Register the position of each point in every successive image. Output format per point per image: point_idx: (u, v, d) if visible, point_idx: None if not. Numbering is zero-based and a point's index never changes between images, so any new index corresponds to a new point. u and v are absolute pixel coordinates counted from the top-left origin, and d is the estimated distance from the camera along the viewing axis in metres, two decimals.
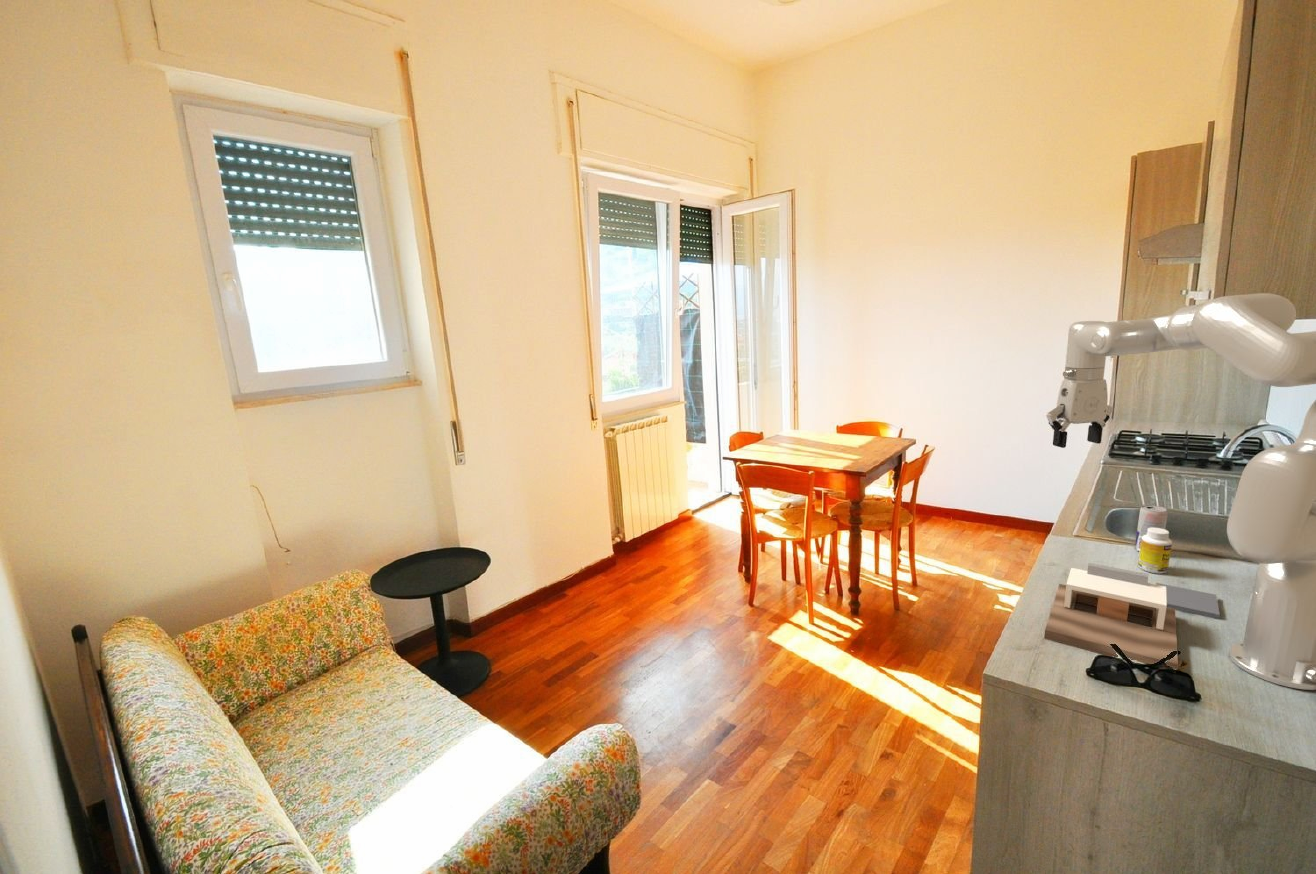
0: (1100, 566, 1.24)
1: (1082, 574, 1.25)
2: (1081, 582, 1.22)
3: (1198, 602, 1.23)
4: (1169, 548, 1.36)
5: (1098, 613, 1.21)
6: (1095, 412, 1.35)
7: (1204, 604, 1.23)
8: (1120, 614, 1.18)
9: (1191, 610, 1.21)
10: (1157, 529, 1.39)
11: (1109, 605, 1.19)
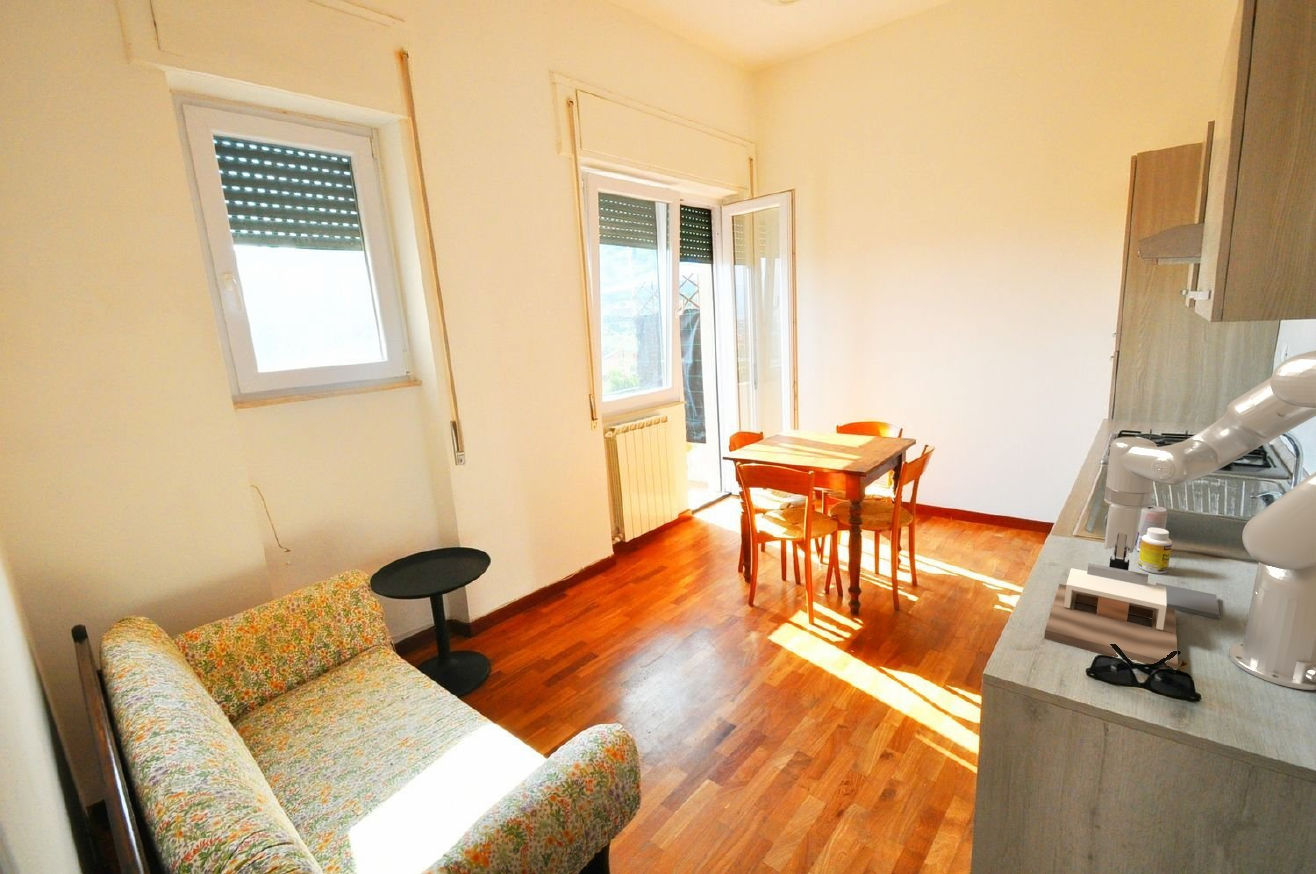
0: (1100, 566, 1.24)
1: (1082, 574, 1.25)
2: (1081, 582, 1.22)
3: (1198, 602, 1.23)
4: (1169, 548, 1.36)
5: (1098, 613, 1.21)
6: None
7: (1204, 604, 1.23)
8: (1120, 614, 1.18)
9: (1191, 610, 1.21)
10: (1157, 529, 1.39)
11: (1109, 605, 1.19)
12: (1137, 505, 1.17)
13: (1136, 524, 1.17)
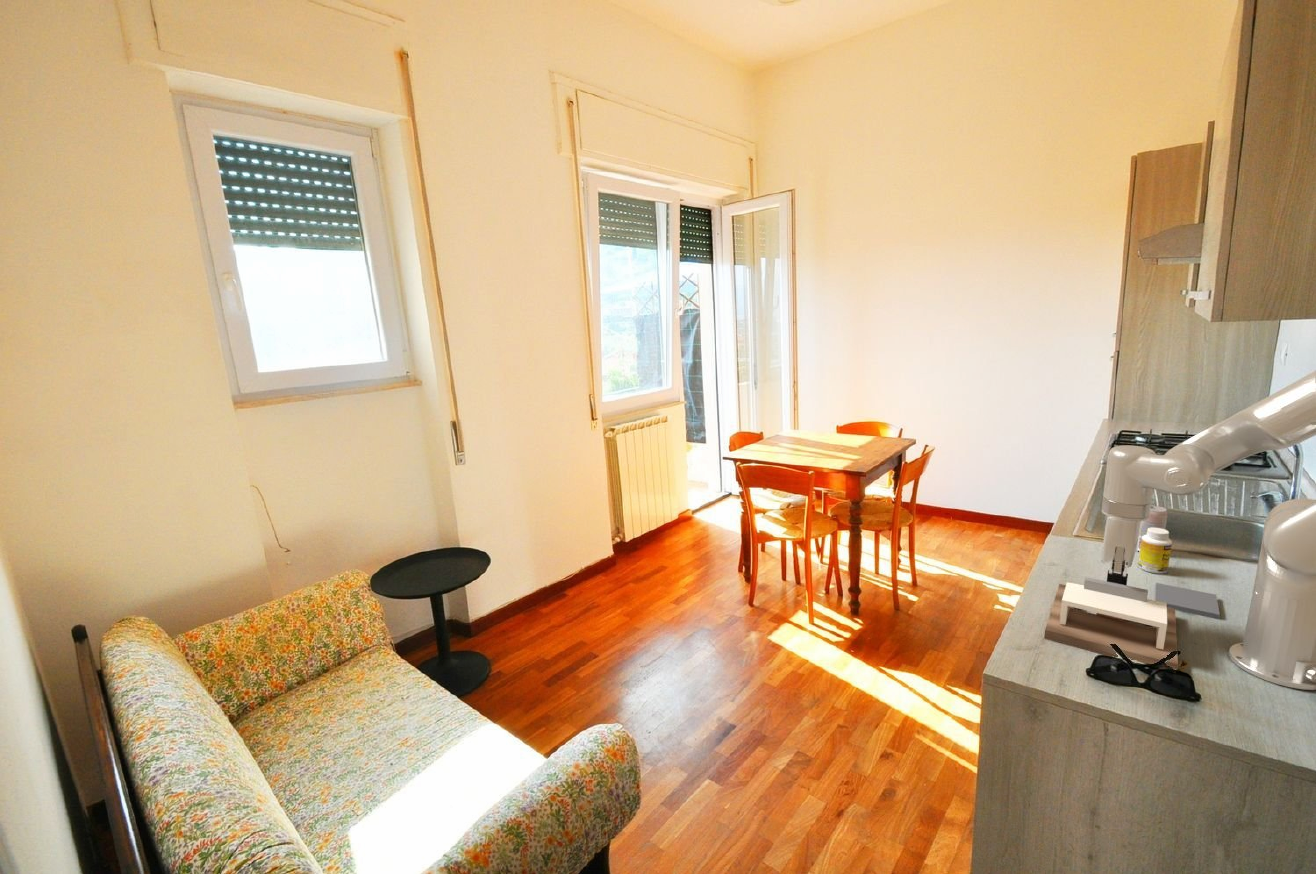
0: (1097, 581, 1.18)
1: (1078, 589, 1.19)
2: (1077, 598, 1.16)
3: (1198, 602, 1.23)
4: (1169, 548, 1.36)
5: (1098, 613, 1.21)
6: None
7: (1204, 604, 1.23)
8: None
9: (1191, 610, 1.21)
10: (1157, 529, 1.39)
11: None
12: (1136, 517, 1.11)
13: (1135, 537, 1.12)
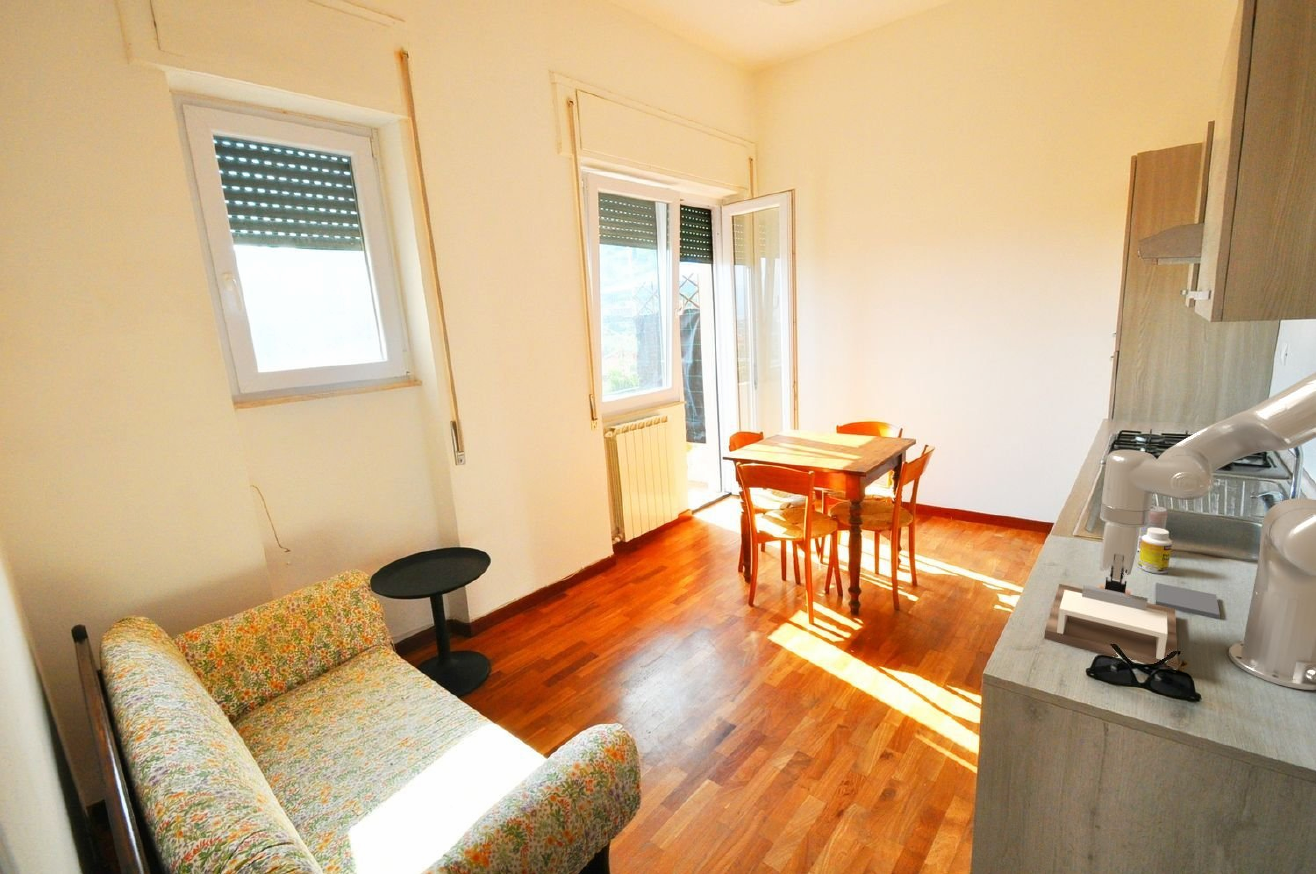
0: (1096, 589, 1.15)
1: (1076, 597, 1.16)
2: (1075, 606, 1.13)
3: (1198, 602, 1.23)
4: (1169, 548, 1.36)
5: None
6: None
7: (1204, 604, 1.23)
8: None
9: (1191, 610, 1.21)
10: (1157, 529, 1.39)
11: None
12: (1135, 524, 1.09)
13: (1134, 544, 1.09)
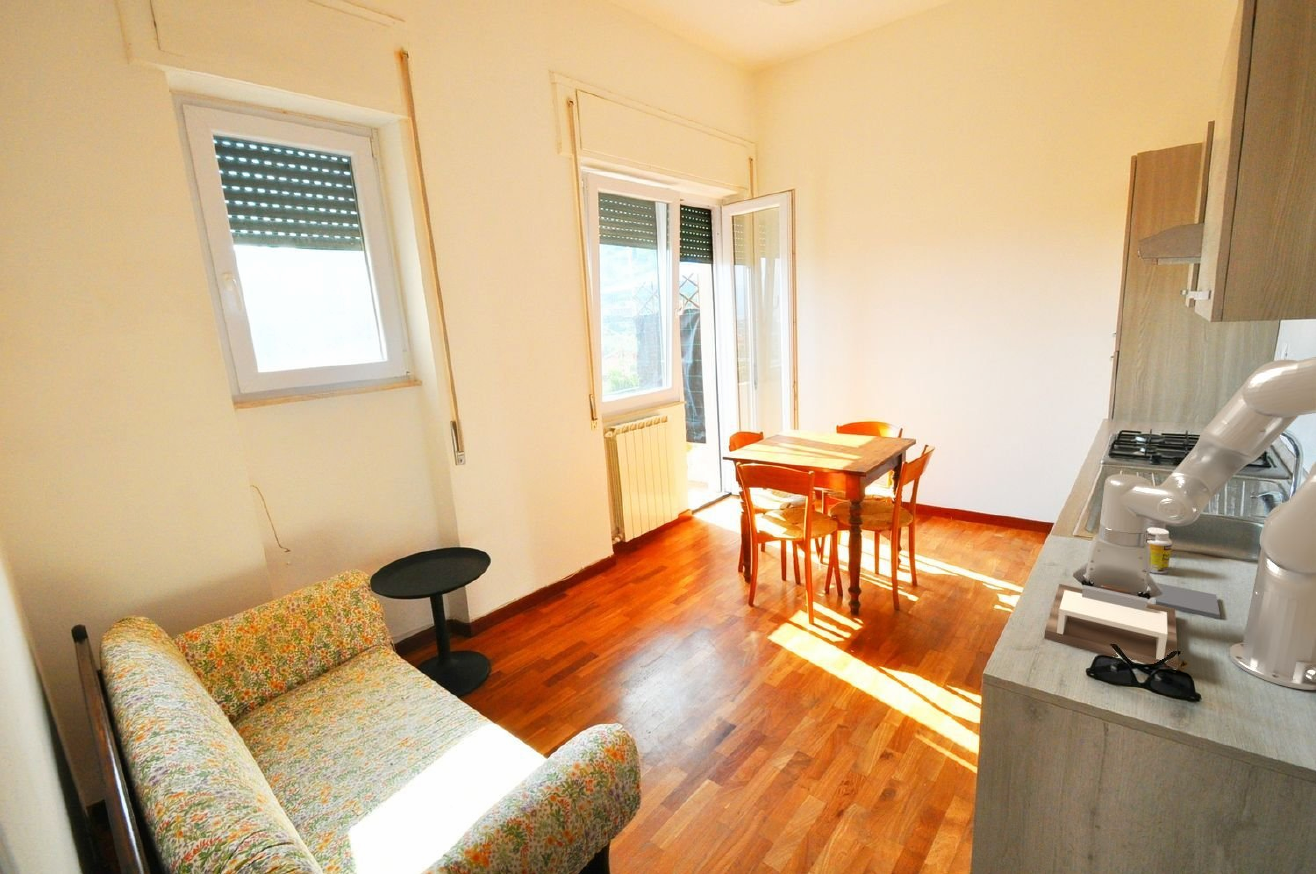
0: (1096, 589, 1.15)
1: (1076, 597, 1.16)
2: (1075, 606, 1.13)
3: (1198, 602, 1.23)
4: (1169, 548, 1.36)
5: None
6: None
7: (1204, 604, 1.23)
8: None
9: (1191, 610, 1.21)
10: (1157, 529, 1.39)
11: None
12: (1100, 537, 1.18)
13: (1093, 553, 1.20)
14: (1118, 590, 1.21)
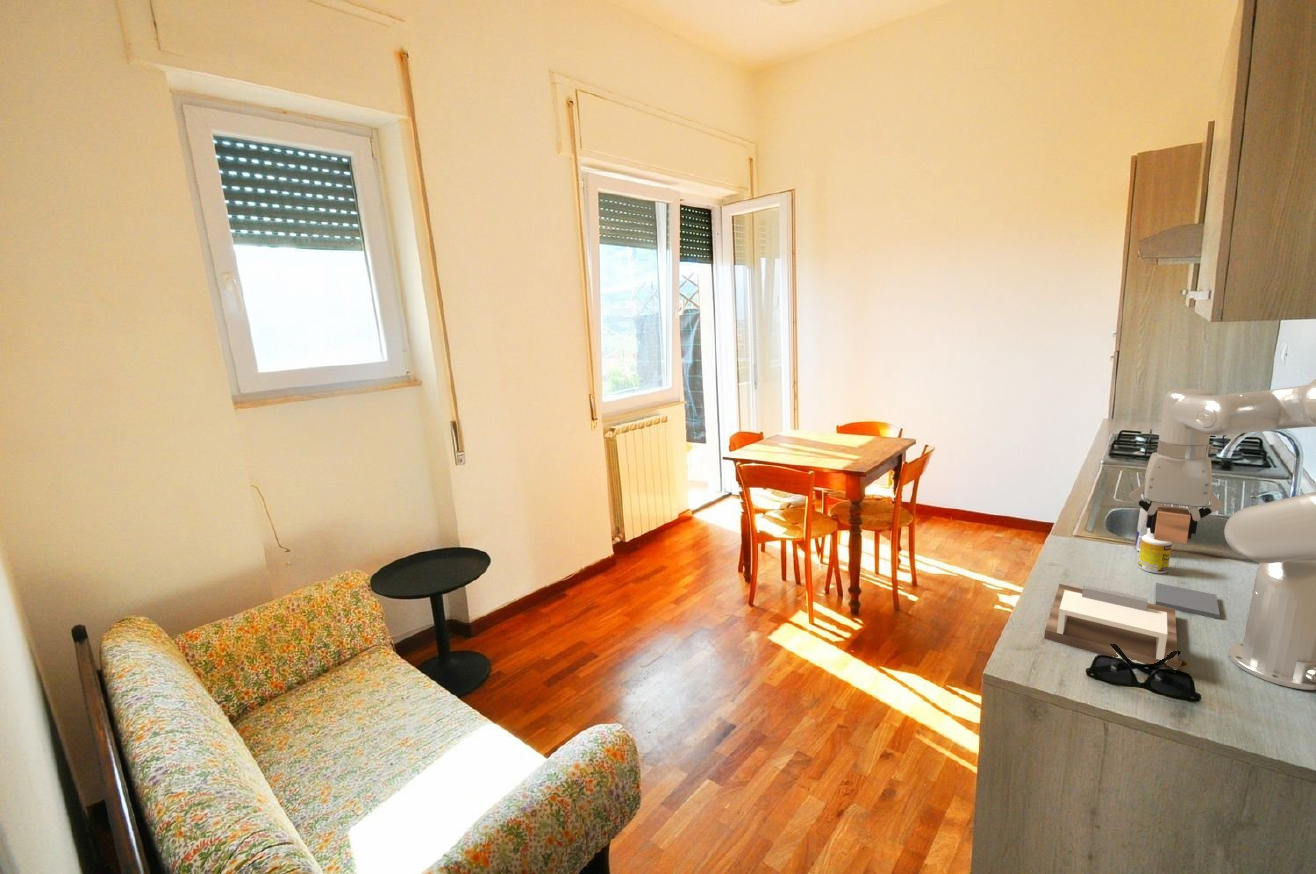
0: (1096, 589, 1.15)
1: (1076, 597, 1.16)
2: (1075, 606, 1.13)
3: (1198, 602, 1.23)
4: (1169, 548, 1.36)
5: (1157, 532, 1.20)
6: None
7: (1204, 604, 1.23)
8: (1181, 531, 1.17)
9: (1191, 610, 1.21)
10: None
11: (1169, 522, 1.18)
12: (1160, 453, 1.17)
13: (1152, 471, 1.18)
14: (1175, 508, 1.20)
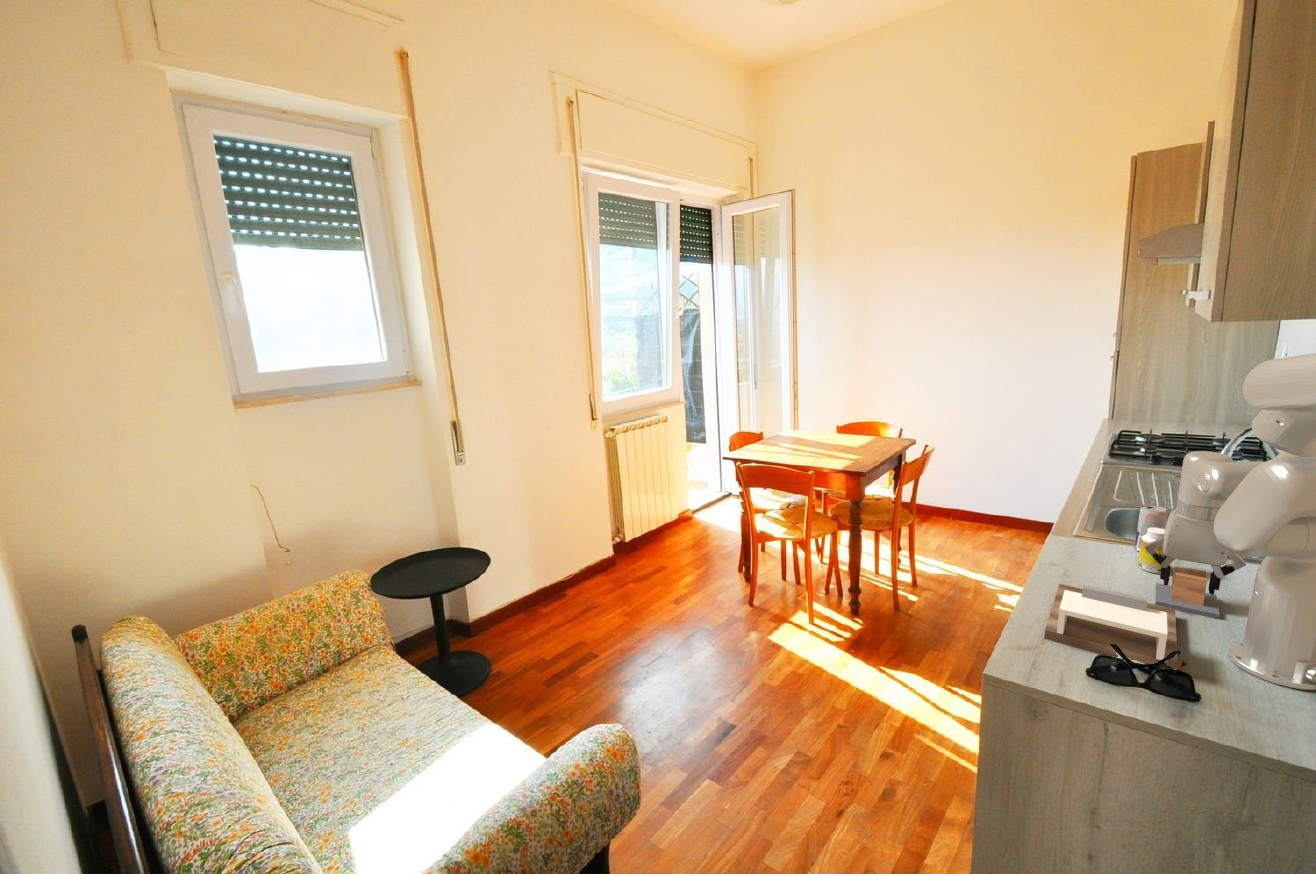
0: (1096, 589, 1.15)
1: (1076, 597, 1.16)
2: (1075, 606, 1.13)
3: None
4: None
5: (1174, 593, 1.25)
6: None
7: (1204, 604, 1.23)
8: (1197, 593, 1.22)
9: (1191, 610, 1.21)
10: (1157, 529, 1.39)
11: (1186, 584, 1.23)
12: (1179, 513, 1.22)
13: (1171, 529, 1.23)
14: (1193, 570, 1.25)
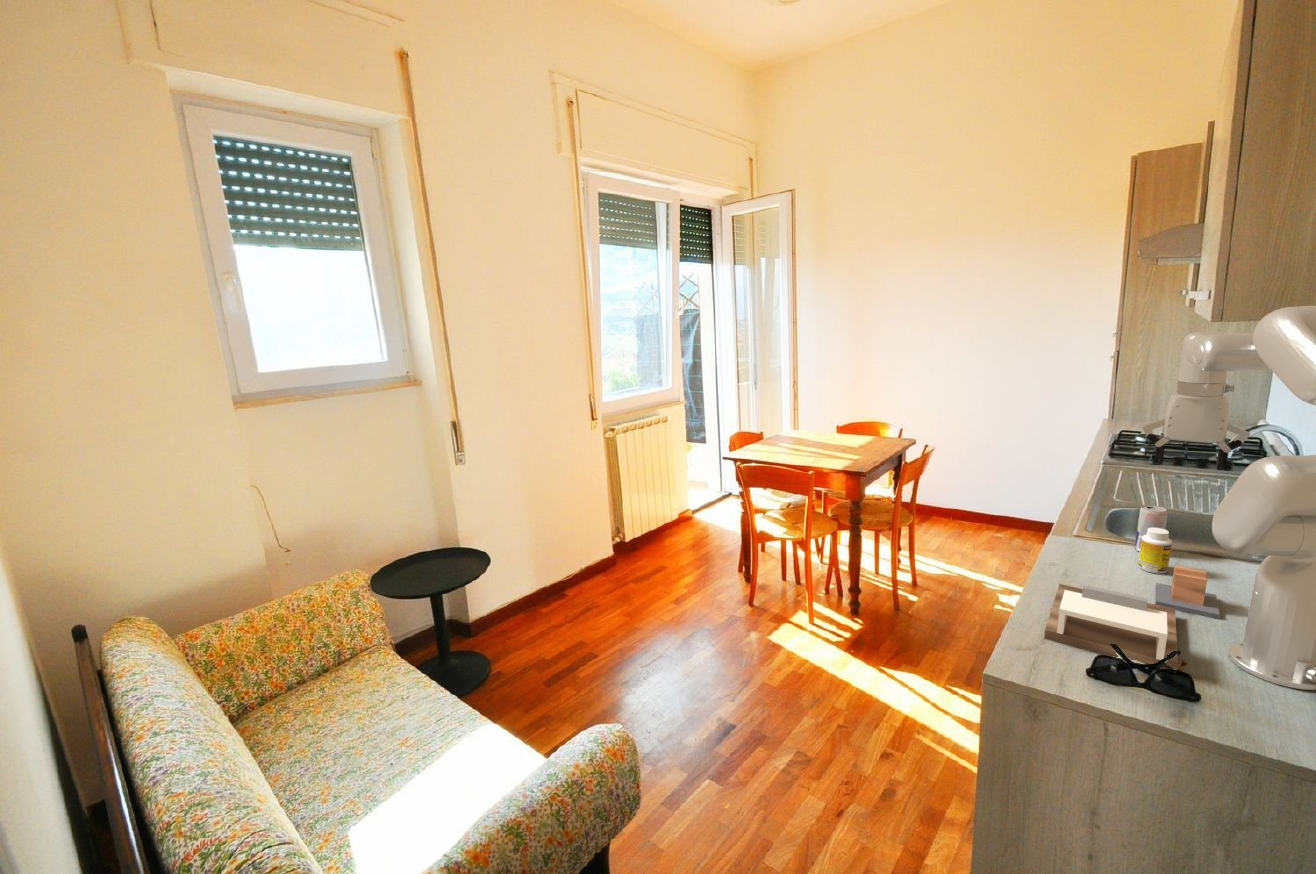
0: (1096, 589, 1.15)
1: (1076, 597, 1.16)
2: (1075, 606, 1.13)
3: None
4: (1169, 548, 1.36)
5: (1174, 593, 1.25)
6: None
7: (1204, 604, 1.23)
8: (1197, 593, 1.22)
9: (1191, 610, 1.21)
10: (1157, 529, 1.39)
11: (1186, 584, 1.23)
12: (1179, 393, 1.25)
13: (1171, 410, 1.26)
14: (1193, 570, 1.25)
